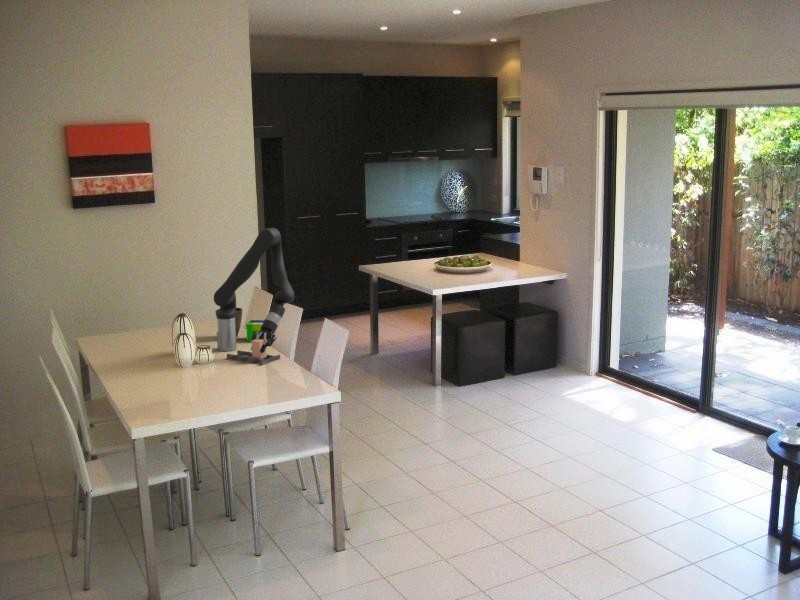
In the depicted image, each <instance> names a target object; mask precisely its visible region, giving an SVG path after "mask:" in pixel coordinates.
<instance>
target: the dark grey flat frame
mask: <svg viewBox="0 0 800 600" xmlns="http://www.w3.org/2000/svg"><path fill="white" fill-rule="evenodd" d="M236 353H237V354H233V353H226V358H224V360H226V361H232V362H239V363H244V364H250V365H255V366H256V365H257V366H264V365H268V364H270V363H272V362H276V361H278V360H281V354H277V355H272V354H271V355H270V354H267V357H266V358H263V359H258V358H252V351H245V350H237V352H236Z"/></svg>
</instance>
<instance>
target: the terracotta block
mask: <svg viewBox="0 0 800 600" xmlns="http://www.w3.org/2000/svg"><path fill="white" fill-rule="evenodd" d="M264 341H265V340H264V339H255V340H252V342H251V347H252V350H251V352H252V358H258V359H263V358H266V357H267V355H268V354H267V353H268V352H267V348H266V349H265V351H264V352H263V353H261V352H260V349H261V347H262V345H264V344H263V343H264Z"/></svg>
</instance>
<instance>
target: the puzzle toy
mask: <svg viewBox="0 0 800 600" xmlns="http://www.w3.org/2000/svg"><path fill="white" fill-rule="evenodd" d="M264 320H265V319H264ZM264 320H263V319H259V320H255V319H250V321H248V322H247V323H246V326H245V327H246V328H245V329H246V341H251V340H252V336H253V333H254V332H256V333H258V332H259V331H260V330H261V326H262V324H263V322H264Z"/></svg>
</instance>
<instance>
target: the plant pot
mask: <svg viewBox="0 0 800 600" xmlns="http://www.w3.org/2000/svg"><path fill="white" fill-rule="evenodd" d="M219 310H220V308H218V309H216V310H215V312H214V313H215V317H216V318H217V313H218V312H219ZM242 317H243V308H241V307H236V313H235V325H236V337H237V338H238V336H239V334H240V333H239V332H240V328H241V324H242ZM216 320H217V319H216ZM217 322H218V320H217Z"/></svg>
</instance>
